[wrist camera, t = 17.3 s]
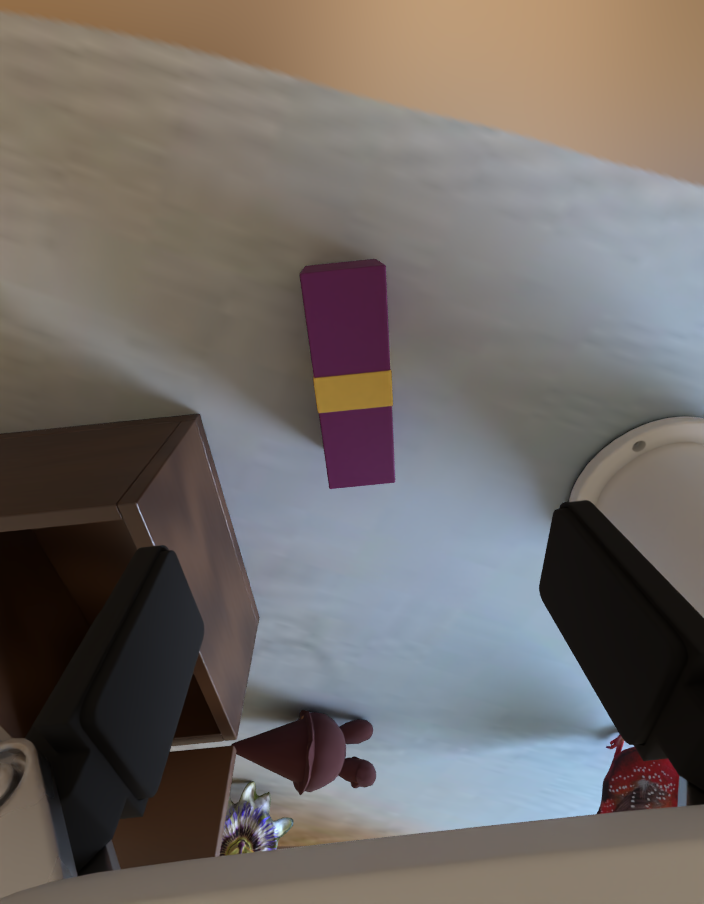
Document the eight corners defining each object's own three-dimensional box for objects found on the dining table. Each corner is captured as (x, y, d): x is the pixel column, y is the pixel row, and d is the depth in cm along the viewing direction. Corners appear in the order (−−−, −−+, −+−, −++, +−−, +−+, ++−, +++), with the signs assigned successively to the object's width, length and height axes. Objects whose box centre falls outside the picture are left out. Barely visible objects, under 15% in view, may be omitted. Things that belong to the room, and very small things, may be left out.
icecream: (218, 800, 39) (363, 799, 43) (230, 789, 34) (392, 788, 38) (230, 716, 44) (360, 722, 48) (242, 695, 39) (385, 704, 43)
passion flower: (256, 736, 55) (303, 820, 46) (254, 792, 58) (298, 880, 50) (168, 788, 48) (205, 899, 39) (172, 848, 51) (206, 963, 43)
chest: (-25, 435, 27) (-197, 535, 18) (199, 413, 27) (135, 502, 18) (94, 633, 36) (20, 761, 27) (259, 617, 36) (237, 740, 27)
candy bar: (377, 258, 23) (387, 264, 19) (387, 447, 28) (396, 483, 24) (303, 265, 23) (298, 273, 19) (329, 453, 28) (328, 490, 24)
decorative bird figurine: (670, 706, 46) (750, 817, 37) (568, 778, 54) (615, 885, 45) (652, 700, 45) (729, 813, 37) (551, 774, 53) (595, 883, 44)
